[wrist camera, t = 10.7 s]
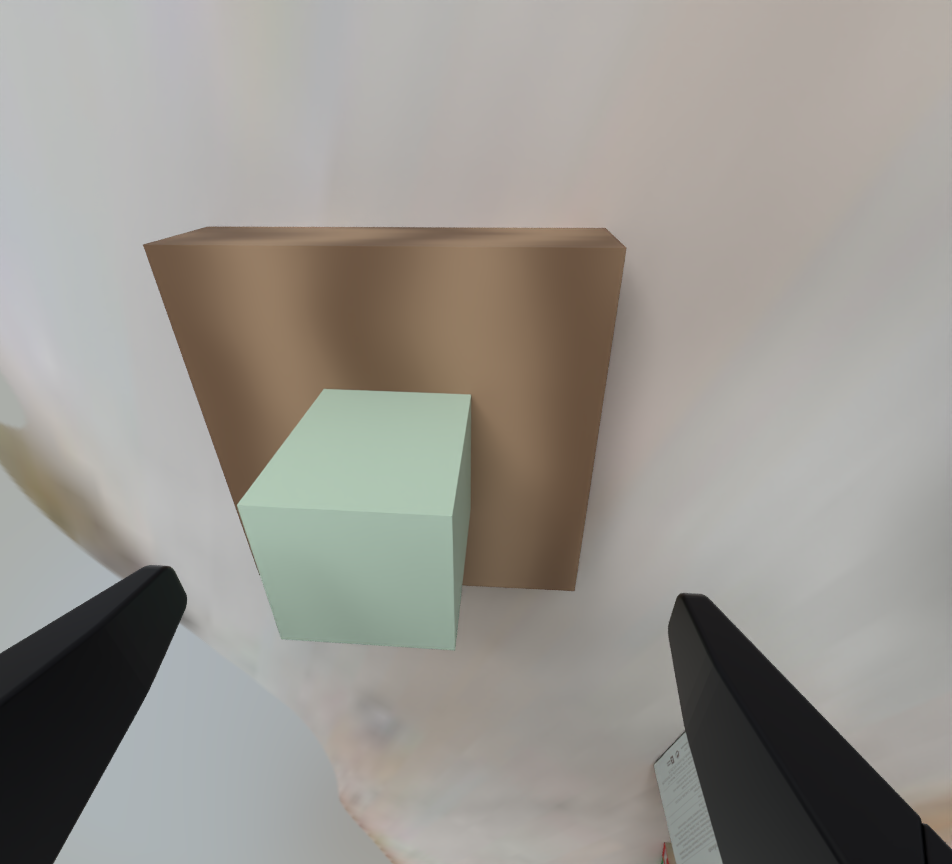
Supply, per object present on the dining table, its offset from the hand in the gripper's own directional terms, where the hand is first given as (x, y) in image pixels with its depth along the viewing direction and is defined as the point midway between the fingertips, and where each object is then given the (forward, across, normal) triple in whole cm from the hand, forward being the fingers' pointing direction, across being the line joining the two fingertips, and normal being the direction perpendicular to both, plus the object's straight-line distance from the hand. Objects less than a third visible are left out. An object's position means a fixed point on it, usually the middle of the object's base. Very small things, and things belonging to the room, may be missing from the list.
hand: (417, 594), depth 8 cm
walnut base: (+12, +2, +3) cm, 13 cm away
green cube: (+8, +2, +3) cm, 9 cm away
